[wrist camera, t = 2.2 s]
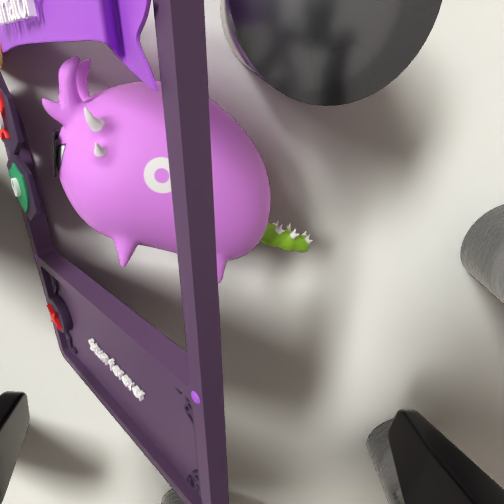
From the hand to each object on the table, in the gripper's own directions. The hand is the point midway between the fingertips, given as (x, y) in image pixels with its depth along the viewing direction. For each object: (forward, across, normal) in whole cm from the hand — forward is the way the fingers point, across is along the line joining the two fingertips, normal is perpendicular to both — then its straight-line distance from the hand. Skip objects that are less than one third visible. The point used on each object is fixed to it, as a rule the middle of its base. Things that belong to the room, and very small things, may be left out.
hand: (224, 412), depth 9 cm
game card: (+1, +1, 0) cm, 1 cm away
